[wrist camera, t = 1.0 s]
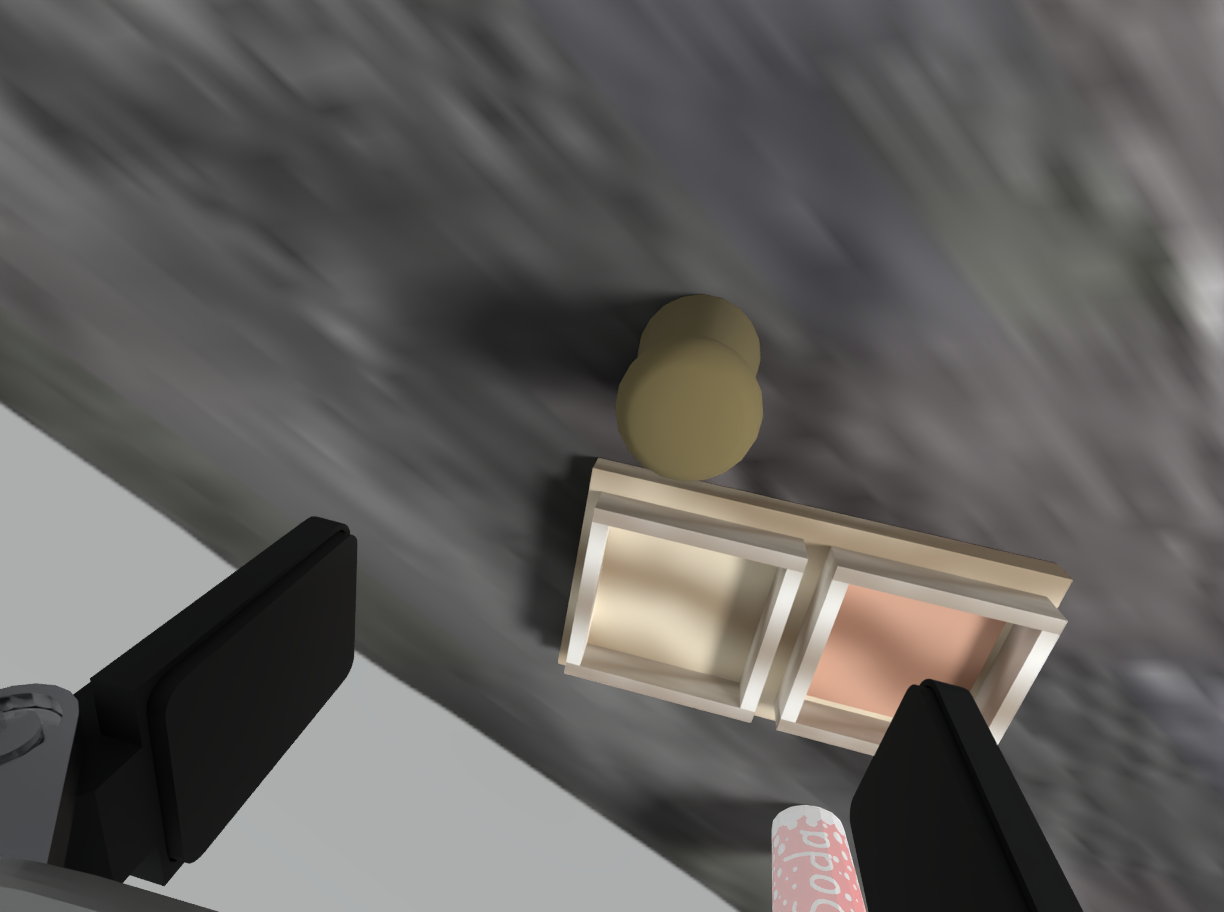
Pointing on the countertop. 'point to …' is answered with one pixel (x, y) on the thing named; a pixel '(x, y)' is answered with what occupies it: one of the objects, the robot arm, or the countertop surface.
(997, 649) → the spice holder
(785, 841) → the beverage cup
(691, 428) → the cork
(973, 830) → the robot arm
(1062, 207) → the countertop surface
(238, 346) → the countertop surface
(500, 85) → the countertop surface
